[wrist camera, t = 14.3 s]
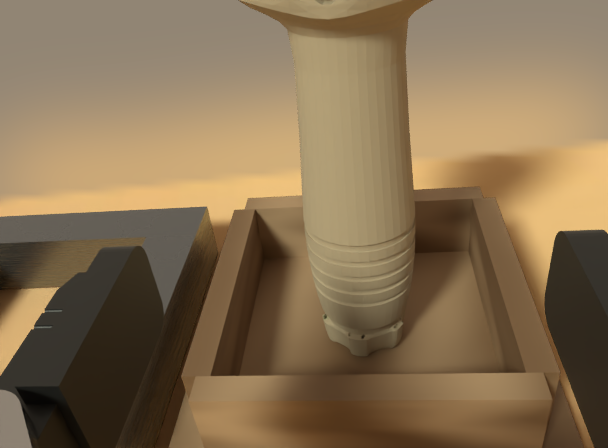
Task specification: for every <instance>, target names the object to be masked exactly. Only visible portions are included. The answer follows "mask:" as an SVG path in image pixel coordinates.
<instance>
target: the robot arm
mask: <svg viewBox="0 0 608 448" xmlns="http://www.w3.org/2000/svg"><path fill="white" fill-rule="evenodd" d="M545 314H546V320H547V324H548V327H549V330H550V333H551V335H552V338H553V341H554V343H555V346H556V348H557V351H558V354H559V356H560V359H561V361H562V364H563V367H564V369H565V372H566V375H567V377H568V380H569V382H570V385H571V388H572V390H573V393H574V395H575V398H576V401H577V403H578V406H579V409H580V411H581V414H582V416H583V419H584V422H585V424H586V427H587V429H588V432H589V435H590V437H591V440H592V443H593V445H594V448H608V234H607V232H606V231H604V230H580V231H560V232H558V233H557V235H556V238H555V241H554V247H553V252H552V258H551V263H550V269H549V275H548V280H547V286H546V291H545ZM163 321H164V310H163V303H162V300H161V296H160V293H159V290H158V287H157V284H156V281H155V278H154V275H153V272H152V269H151V266H150V263H149V260H148V257H147V254H146V252H145V250H144V249H143V248H142V247H141V246H120V247H103V248H102V249H100V251H99V252H98V253H97V255H96V257H95V258H94V260H93V261H92V263H91V265H90V266H89V268H88V270H87V271H86V272H78V273H77V274H76V275H75V276H74V277H72V278H71V279H70V280H69V281H68V282H66V283H65V284H64V285H63V286H62V287H60V288H59V289H58V290H57V291H56V293H55V294H54V296H53V297H52V299H51V300H50V302H49V303H48V305H47V307H46V308H45V313H42V314H41V316H40V317H39V319H38V320H37V322H36V323H35V325H34V329H33V330H31V331H30V332H29V334H28V335H27V337H26V338H25V340H24V341H23V343H22V344H21V346H20V347H19V349H18V350H17V352H16V353H15V355H14V356H13V358H12V359H11V361H10V363H9V364H8V366H7V367H6V369H5V370H4V372H3V373H2V375H1V376H0V448H115V447H116V445H117V442H118V440H119V437H120V435H121V432H122V430H123V427H124V425H125V422H126V420H127V417H128V415H129V412H130V410H131V407H132V405H133V402H134V400H135V397H136V395H137V392H138V390H139V387H140V385H141V382H142V379H143V377H144V374H145V372H146V369H147V367H148V364H149V362H150V359H151V357H152V354H153V352H154V349H155V347H156V344H157V342H158V339H159V337H160V334H161V331H162V327H163Z"/></svg>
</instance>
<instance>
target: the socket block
mask: <svg viewBox="0 0 608 448" xmlns="http://www.w3.org/2000/svg"><path fill="white" fill-rule="evenodd" d="M120 246H141V247H142V248H143V249H144V250H145V252H146V254H147V257H148V260H149V263H150V266H151V269H152V272H153V275H154V278H155V281H156V284H157V287H158V290H159V293H160V296H161V300H162V303H163V310H164V321H163V327H162V331H161V334H160V337H159V339H158V342H157V344H156V347H155V349H154V352H153V354H152V357H151V359H150V362H149V364H148V367H147V369H146V372H145V374H144V377H143V379H142V382H141V385H140V387H139V390H138V392H137V395H136V397H135V400H134V402H133V405H132V407H131V410H130V412H129V415H128V417H127V420H126V422H125V425H124V427H123V430H122V432H121V435H120V437H119V440H118V442H117V445H116V447H115V448H154V447H155V444H156V441H157V438H158V435H159V432H160V428H161V425H162V422H163V419H164V416H165V413H166V410H167V407H168V404H169V401H170V398H171V395H172V392H173V389H174V386H175V383H176V380H177V377H178V374H179V370H180V367H181V364H182V361H183V358H184V355H185V352H186V349H187V346H188V343H189V340H190V337H191V334H192V331H193V328H194V325H195V322H196V319H197V316H198V312H199V309H200V306H201V303H202V300H203V297H204V294H205V291H206V288H207V285H208V282H209V279H210V276H211V273H212V270H213V267H214V264H215V261H216V257H217V254H218V250H217V246H216V241H215V237H214V233H213V229H212V225H211V221H210V217H209V213H208V208H207V207H190V208H170V209H149V210H129V211H109V212H88V213H68V214H48V215H27V216H7V217H0V289H14V288H45V287H62V286H63V285H64V284H65V283H66V282H68V281H69V280H70V279H71V278H72V277H74V276H75V275H76V274H77V273H78V272H86V271H87V270H88V268H89V266H90V265H91V263H92V261H93V260H94V258H95V257H96V255H97V253H98V252H99V251H100V249H102V248H103V247H120Z"/></svg>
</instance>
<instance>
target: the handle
mask: <svg viewBox="0 0 608 448" xmlns="http://www.w3.org/2000/svg"><path fill="white" fill-rule="evenodd" d="M239 1H240V2H242V3H243V4H245V5H247V6H248V7H250V8H252V9H254V10H257V11H259V12H261V13H263V14H266V15H268V16H270V17H272V18H273V19H275V20H277V21H279V22H280V23H281V24H282V25H283V26H284V27H286V28H287V30H288V35H289V40H290V45H291V50H292V54H293V59H294V68H295V81H296V96H297V109H298V122H299V137H300V157H301V178H302V198H303V218H304V228H305V236H306V244H307V250H308V257H309V261H310V265H311V271H312V275H313V279H314V283H315V287H316V290H317V294H318V297H319V300H320V303H321V306H322V308H323V310H324V312H325V314H324V315H322V316H323V320H324V324H325V328H326V331H327V334H328V336H329V338H330V339H331V340H332V341H333V342H338V343H340V344H342V345H344V346H346V347H347V348H348V349H350V351H351V353H352V354H353V355H356V356H368V355H369V354H370V353H372V352H374V351H377V350H380V349H384V348H393V347H395V346H396V345H397V344H398V343H399V342H400V341H401V337H402V332H403V321H404V316H405V311H406V305H407V301H408V296H409V293H410V288H411V282H412V274H413V266H414V255H415V202H414V188H413V174H412V160H411V147H410V133H409V115H408V95H407V74H406V53H405V51H406V39H407V28H408V19H409V17H410V16H411V15H412V14H413V13H414V12H415V11H416V10H418V9H419V8H421V7H422V6H424V5H425V4H427V3H429V2H431V1H432V0H239Z"/></svg>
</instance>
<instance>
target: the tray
mask: <svg viewBox="0 0 608 448" xmlns="http://www.w3.org/2000/svg"><path fill="white" fill-rule="evenodd" d="M414 202H415V255H414V266H413V274H412V282H411V288H410V293H409V296H408V301H407V305H406V311H405V316H404V321H403V332H402V337H401V341H400V342H399V343H398V344H397V345H396V346H395V347H393V348H384V349H380V350H377V351H374V352H372V353H370V354H369V355H368V356H356V355H353V354H352V353H351V351H350V349H348V348H347V347H346V346H344V345H342V344H340V343H338V342H333V341H332V340H331V339H330V338H329V336H328V334H327V331H326V328H325V324H324V320H323V316H322V315H324V314H325V312H324V310H323V308H322V306H321V303H320V300H319V297H318V294H317V290H316V287H315V283H314V279H313V275H312V271H311V265H310V261H309V257H308V250H307V244H306V236H305V228H304V218H303V198H302V196H284V197H264V198H248V200H247V204H246V207H245V210H234V213H233V216H232V219H231V222H230V226H229V229H228V232H227V235H226V238H225V241H224V244H223V247H222V250H221V254H220V257H219V260H218V263H217V266H216V269H215V272H214V275H213V279H212V282H211V285H210V288H209V291H208V294H207V297H206V300H205V303H204V307H203V310H202V313H201V316H200V319H199V322H198V325H197V328H196V331H195V335H194V338H193V341H192V344H191V347H190V350H189V353H188V356H187V359H186V363H185V366H184V369H183V372H182V375H181V378H182V381H183V384H184V387H185V389H186V392H185V395H184V399H183V402H182V405H181V409H180V412H179V415H178V418H177V422H176V425H175V428H174V432H173V435H172V438H171V441H170V445H169V448H584V446H583V443H582V441H581V438H580V435H579V433H578V430H577V427H576V424H575V422H574V419H573V416H572V414H571V411H570V408H569V405H568V403H567V400H566V397H565V394H564V392H563V389H562V386H561V384H560V381H559V377H560V370H559V367H558V364H557V362H556V359H555V356H554V354H553V351H552V348H551V346H550V343H549V340H548V338H547V335H546V332H545V330H544V327H543V324H542V322H541V319H540V316H539V314H538V311H537V308H536V306H535V303H534V300H533V298H532V295H531V292H530V290H529V287H528V284H527V282H526V279H525V276H524V274H523V271H522V268H521V266H520V263H519V260H518V258H517V255H516V252H515V250H514V247H513V244H512V242H511V239H510V236H509V234H508V231H507V228H506V226H505V223H504V220H503V218H502V215H501V212H500V210H499V207H498V204H497V202H496V199H495V198H483V195H482V192H481V189H480V187H462V188H442V189H422V190H414Z"/></svg>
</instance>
